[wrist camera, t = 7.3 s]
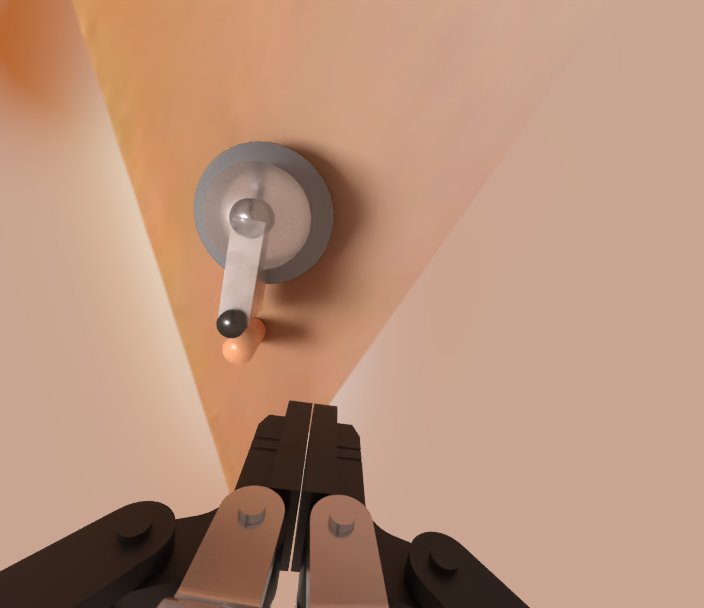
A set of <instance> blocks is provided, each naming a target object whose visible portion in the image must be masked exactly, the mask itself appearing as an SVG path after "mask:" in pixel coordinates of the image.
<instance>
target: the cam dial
mask: <svg viewBox="0 0 704 608" xmlns="http://www.w3.org/2000/svg"><path fill="white" fill-rule="evenodd" d="M203 221H204V226H205V229H206V232H207V234H208V236H209V239H210V240H211V242H212V244H213V245H214V246H215V248H216V249H217V250H218V251H219V252H220V253H221V254H222V255H223V256H224V257H225V258H226V265H225V272H224V279H223V286H222V293H221V300H220V307H219V314H218V319H217V329H218V331H219V332H220V333H221V334H222V335H223V336H225V337H227V338H237V337H239V336H240V335H241V334H242V333H243V332H244V331H245V329H246V328H247V327H248V326H249V324H250V323H251V322H252V320H253V319H254V318H255V316H256V315H257V314H258V312H259V311H260V310H261V308H262V302H263V296H264V291H265V285H266V279H267V274H268V269H272V268H276V267H278V266H281V265H283V264H285V263H286V262H288V261H289V260H291V259H292V258H293V257H294V256H295V255H296V254H297V253H298V252H299V251H300V250H301V248H302V247H303V246H304V244H305V243H306V241H307V239H308V237H309V234H310V231H311V226H312V210H311V205H310V201H309V199H308V196H307V194H306V192H305V190H304V189H303V187H302V186H301V185H300V183H299V182H298V181H297V180H296V179H295V178H294V177H293V176H291V175H290V174H289V173H287V172H286V171H284V170H282V169H280V168H279V167H276V166H274V165H272V164H269V163H266V162H261V161H244V162H240V163H236V164H234V165H231V166H229V167H228V168H226V169H224V170H223V171H222V172H220V173H219V174H218V175H217V176H216V177H215V178H214V180H213V181H212V183H211V184H210V186H209V188H208V190H207V192H206V195H205V198H204V203H203Z"/></svg>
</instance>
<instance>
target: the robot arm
mask: <svg viewBox="0 0 704 608" xmlns="http://www.w3.org/2000/svg"><path fill="white" fill-rule="evenodd" d="M311 410H312V403H306V402H298V401H289V404H288V408H287V412H286V416H285V417H283V416H275V415H269V416H267V417H266V418H265V419H264V420H263V421H262V422H261V423H259V425H258V428H257V430H256V433H255V436H254V439H253V441H252V444H251V447H250V449H249V452H248V455H247V458H246V460H245V463H244V466H243V469H242V471H241V474H240V477H239V480H238V482H237V485H236V488H235V490H234V491H233V492H232V493H230V494H229V495H228V496H226V498H225V499H224V500H223V501H222V503H221V504H220V506H219V507H218V508H217V509H215V510H213V511H211V512H209V513H205V514H202V515H198V516H192V517H188V518H187V517H186V518H181V519H175V516H174V513H173V512H172V510H171V509H170V508H169V507H168V506H166V505H164V504H162V503H159V502H153V501H142V502H137V503H132V504H129V505H126V506H124V507H122V508H120V509H118V510H116V511H114V512H112V513H110V514H108V515H106V516H104V517H102V518H101V519H99V520H97V521H95V522H93V523H91V524H89V525H87V526H85V527H83V528H82V529H80V530H78V531H76V532H74V533H72V534H70V535H68V536H67V537H65V538H63V539H61V540H59V541H57V542H55V543H53V544H51V545H50V546H47V547H46V548H44V549H42V550H40V551H38V552H36V553H34V554H32V555H30V556H28V557H27V558H25V559H23V560H21V561H19V562H17V563H15V564H13V565H11V566H9V567H8V568H6V569H4V570H2V571H0V608H271V604H272V601H273V599H274V597H275V594H276V590H277V584H278V578H279V571H280V570H281V571H288V568H289V562H290V555H291V549H292V542H293V536H294V530H295V522H296V517H297V510H298V504H299V497H300V491H301V483H302V476H303V469H304V462H305V454H306V446H307V440H308V432H309V425H310V418H311ZM360 449H361V448H360V437H359V435H358V433H357V432H356V430H355V429H354V427H353V426H352V425H348V424H340V423H337V406H330V405H322V404H314V409H313V416H312V422H311V429H310V435H309V442H308V448H307V455H306V462H305V469H304V476H303V484H302V491H301V499H300V507H299V515H298V522H297V529H296V537H295V545H294V552H293V560H292V567H291V571H294V572H300V575H299V584H298V592H297V599H296V605H295V608H530V607H528V606H527V605H526V604H525V603H524V602H523V601H522V600H521V599H520V598H519V597H517V595H515V594H514V593H513V592H512V591H511V590H510V589H509V588H508V587H507V586H506V585H505V584H503V583H502V582H501V581H500V580H499V579H498V578H497V577H496V576H495V575H494V574H493V573H492V572H490V571H489V570H488V569H487V568H486V567H485V566H484V565H483V564H482V563H481V562H480V561H478V560H477V559H476V558H475V557H474V556H473V555H472V554H471V553H470V552H469V551H468V550H467V549H466V548H464V547H463V546H462V545H461V544H460V543H459V542H457V541H456V540H454V539H453V538H451V537H449V536H447V535H445V534H442V533H437V532H425V533H422V534H420V535H418V536H416V537H415V538H414V539H413V541H412V543H410V542H407V541H405V540H402V539H400V538H398V537H395V536H393V535H391V534H389V533H387V532H385V531H384V530H382V529H381V528H380V527H379V526H377V525H376V524H375V522H374V521H373V520H372V517H371V515H370V512H369V511H368V510H367V509H366V506H365V496H364V484H363V473H362V462H361V451H360Z"/></svg>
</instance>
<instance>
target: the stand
mask: <svg viewBox="0 0 704 608" xmlns="http://www.w3.org/2000/svg"><path fill="white" fill-rule="evenodd" d="M244 161H261V162H266V163H269V164H272V165H274V166H276V167H279V168H280V169H282V170H284V171H286V172H287V173H289V174H290V175H291V176H293V177H294V178H295V179H296V180H297V181H298V182H299V183H300V185H301V186H302V187H303V189H304V190H305V192H306V194H307V196H308V199H309V201H310V205H311V210H312V226H311V231H310V234H309V237H308V239H307V241H306V243H305V244H304V246H303V247H302V248H301V250H300V251H299V252H298V253H297V254H296V255H295V256H294V257H293V258H292V259H291V260H289V261H288V262H286V263H285V264H283V265H281V266H278V267H276V268H272V269H268V274H267V279H266V284H274V283H281V282H286V281H289V280H292V279H294V278H296V277H298V276H300V275H302V274H303V273H305V272H306V271H308V270H309V269H310V268H311V267H312V266H313V265H315V263H316V262H317V261H318V260H319V259H320V257H321V256H322V254H323V253H324V251H325V249H326V247H327V245H328V243H329V240H330V237H331V234H332V229H333V223H334V211H333V203H332V199H331V195H330V192H329V190H328V187H327V185H326V183H325V181H324V180H323V178H322V177H321V175H320V174H319V172H318V171H317V170H316V169H315V168H314V167H313V165H312V164H311V163H310V162H309V161H307V160H306V159H305V158H304V157H303V156H301V155H300V154H298V153H297V152H295V151H293V150H291V149H289V148H288V147H285V146H282V145H279V144H275V143H271V142H260V141H258V142H248V143H243V144H239V145H237V146H234V147H231V148H230V149H228V150H226V151H224V152H223V153H221V154H220V155H219V156H217V157H216V158H215V159H214V160H213V161H212V162H211V163H210V164H209V166H208V167H207V168H206V170H205V171H204V173H203V175H202V177H201V178H200V180H199V183H198V186H197V189H196V193H195V198H194V218H195V223H196V228H197V231H198V234H199V236H200V239H201V241H202V243H203V245H204V246H205V248H206V250H207V251H208V253H209V254H210V255H211V256H212V258H213V259H214V260H215V261H216V262H217V263H218V264H219V265H220V266H221V267H223V268H224V269H225V265H226V258H225V257H224V256H223V255H222V254H221V253H220V252H219V251H218V250H217V249H216V248H215V246H214V245H213V244H212V242H211V240H210V239H209V236H208V234H207V232H206V229H205V226H204V221H203V203H204V198H205V195H206V192H207V190H208V188H209V186H210V184H211V183H212V181H213V180H214V178H215V177H216V176H217V175H218V174H219V173H220V172H222V171H223V170H224V169H226V168H228V167H229V166H231V165H234V164H236V163H240V162H244ZM265 333H266V328H265V325H264V323H263V322H262V321H261V320H259V319H257V318H254V319H253V320H252V322H251V323H250V324H249V326H248V327H247V328H246V329H245V331H244V332H243V333H242V334H241V335H240V336H239V337H237V338H228V339H227V340H226V342H225V343H224V345H223V354H224V356H225V358H226V359H227V360H228V361H229V362H231V363H233V364H237V365H241V364H245V363H247V362H248V361H250V359H251V358H252V356H253V355H254V353H255V351H256V350H257V348H258V346H259V344H260V343H261V341H262V339H263V338H264V336H265Z"/></svg>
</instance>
